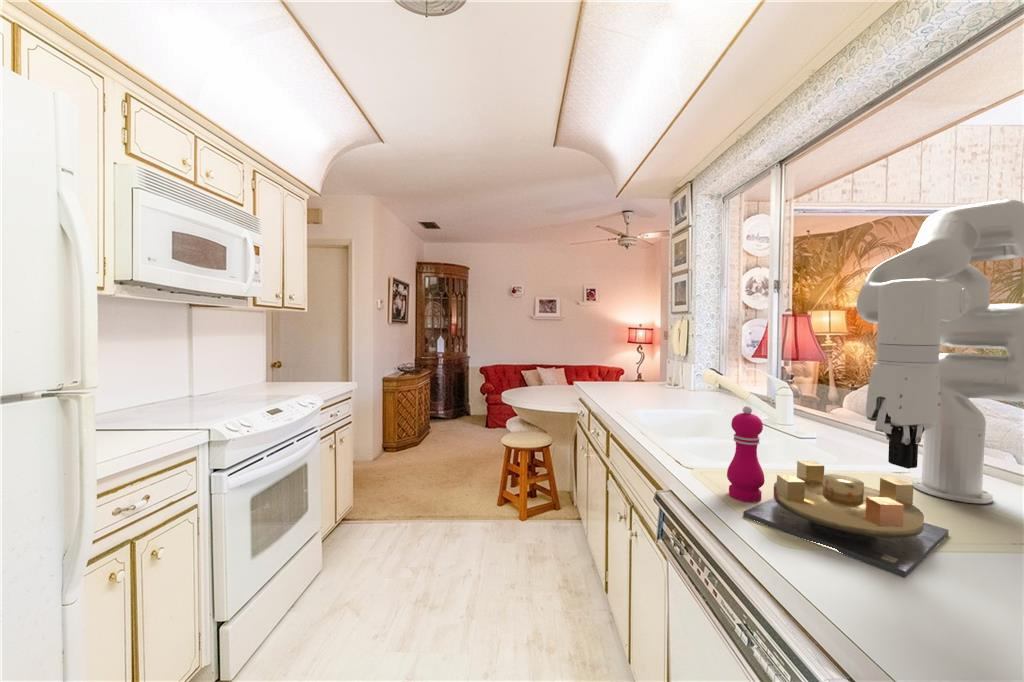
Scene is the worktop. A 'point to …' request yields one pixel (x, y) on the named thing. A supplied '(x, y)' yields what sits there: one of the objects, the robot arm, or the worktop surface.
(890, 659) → the worktop surface
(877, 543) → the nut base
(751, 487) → the pepper mill
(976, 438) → the robot arm
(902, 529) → the brass lugged disc
